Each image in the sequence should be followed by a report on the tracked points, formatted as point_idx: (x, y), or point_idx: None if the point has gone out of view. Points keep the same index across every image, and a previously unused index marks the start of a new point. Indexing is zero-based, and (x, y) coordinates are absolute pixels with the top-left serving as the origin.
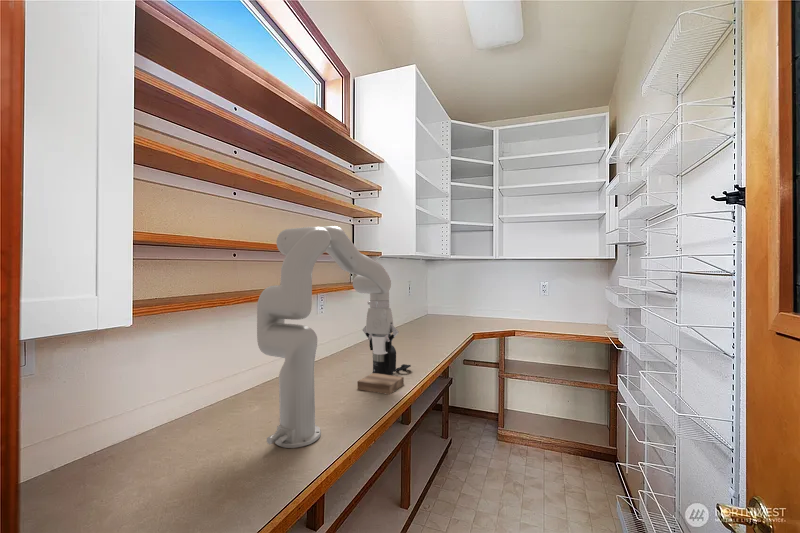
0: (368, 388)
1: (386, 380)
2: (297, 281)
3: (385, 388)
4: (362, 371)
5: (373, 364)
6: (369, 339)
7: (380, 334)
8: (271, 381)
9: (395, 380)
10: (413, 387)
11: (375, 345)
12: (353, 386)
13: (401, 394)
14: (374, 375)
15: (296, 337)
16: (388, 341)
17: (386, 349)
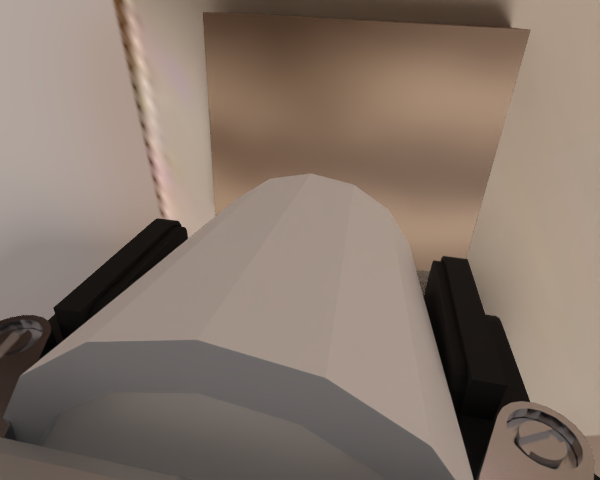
0: (405, 22)
1: (290, 142)
2: None
3: (245, 14)
4: (588, 378)
5: None
6: (535, 421)
7: (26, 446)
8: None
9: (230, 161)
10: (161, 191)
11: (312, 232)
12: (569, 79)
13: (159, 47)
14: (428, 223)
15: None
16: (22, 320)
17: (148, 231)
